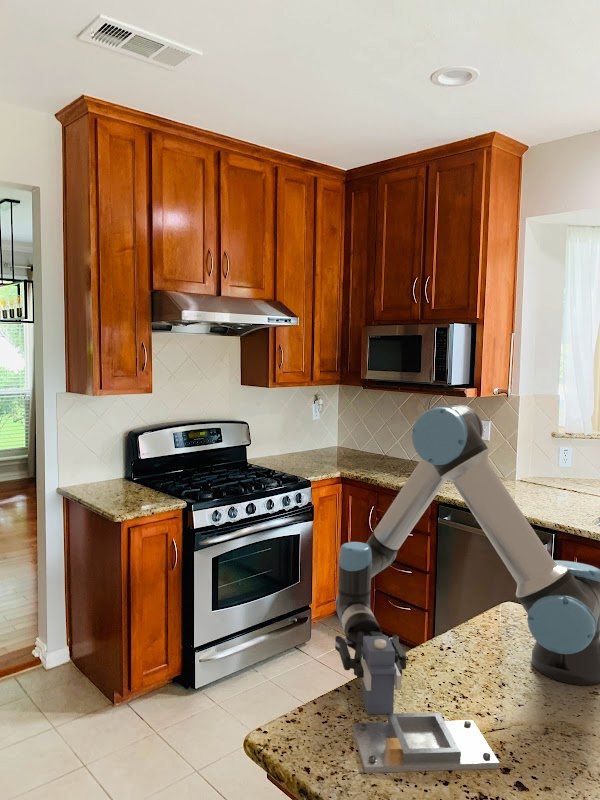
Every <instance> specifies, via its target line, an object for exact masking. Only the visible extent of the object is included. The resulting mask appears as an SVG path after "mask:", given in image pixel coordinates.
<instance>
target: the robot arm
mask: <svg viewBox="0 0 600 800" xmlns="http://www.w3.org/2000/svg"><path fill="white" fill-rule="evenodd" d="M483 425H484V424H483V423H482V420H481V417H480V416H479V415H478V413H477V412H476V411H475V410H474V409H472V408H471V407H469V406H467V405H463V404H460V403H459V404H458V403H453V404H447V405H437V406H433V407H432V408H430V409H428V410H425V411H424V412H423V413H422V414H420V415H419V416H418V418H417V419H416V421H415V423H414V425H413V428H412V431H411V440H412V446H413V449H414V450H415V452H416V453H417V455H418V456H419V457H420V461H419V462H418V463H417V465H416V466H415V468H414V470H413V471H412V473H410V475H409V477H408V479H407V480H406V482H405V483H404V485H403V486H402V488H401V489H400V491H399V492H398V494H397V495H396V497H395V498H394V500H393V501H392V503H391V504H390V506H389V507H388V509H387V510H386V512H385V514H384V515H383V517H382V518H381V520H380V521H379V523H378V524H377V525H376V527H375V528H374V530H373V532H372V533H371V535H370V536H369V538H368V540H366V542H360V541H350V542H345V543H343V544H341V546H340V548H339V555H338V556H339V557H338V561H337V562H338V591H337V596H336V598H335V611H336V614H337V617H338V619H339V621H340V624H341V626H342V630H343V632H344V635H345V637H344V638H343V637H342V636H340V635H337V636H335V638H334V639H335V645H334V648H335V651H337V652H338V654H339V656H340V660H341V663H342V666H343V669H344V671H350V670H351V669H352V670H353V675H354V676H356V677H357V678H358V679H361V680H362V679H363V682H364V684H365V687H366V690H367V691H371V674H370V672H369V669H368V667H367V664H366V661H365V659H363V654H362V651H361V648H362V647H363V636H386V635H385V634H384V633H382V630H381V627H380V625H379V622H378V621H377V619H376V617H375V615H374V613H373V611H372V609H371V591H372V590H371V587H372V585H371V583H372V578H374V576H375V577H376V575H377V574H379V573H380V572H382V571H383V570H385V569H386V568H389V567H390V566H391V565H392V563H393V562H394V561H395V559H396V558H397V555H398V551H399V550H400V548H401V547H402V545H403V544H404V542H405V541H406V539H407V537H408V536H409V535H410V533H412V531H413V529H414V527H416V525H417V523H418V522H419V521H420V519H421V517H422V516H423V515H424V513H425V512H426V510H427V509H428V507H430V504H431V503H432V502H433V500H434V499H435V497H436V496H437V495H438V493H439V492H440V490H441V488H442V487H443V486H444V484H445V483H446V482H447V481H450V482H451V483H452V484H453V485H454V487H455V488H456V490H457V492H458V493H459V495H460V497H461V498H462V499H463V501H464V503H465V504H466V506H467V507H468V509H469V510H470V512H471V513H472V515H473V516H474V518H475V520H476V522H477V523H478V525H479V526H480V528H481V530H482V531H483V533H485V536H486V537H487V538H488V540H489V541H490V543H491V545H492V546H493V549H494V550H495V551H496V553H497V554H498V556H499V557H500V560H502V562H503V563H504V565H505V566H506V569H507V570H508V571H509V572H510V575H511V576H512V578H513V579H514V580H515V583H516V592H515V597H516V598H517V599H518V601H519V602H520V605H521V606H522V608H523V609H524V610H525V612H526V614H527V619H526V621H527V624H528V628H529V632H530V634H531V636H532V637H533V638H534V640H535V643H534V645H533V648H532V651H531V665H532V666H533V667H534V668H535V670H537V671H538V672H539V673H540V674H542V675H544V676H546V677H548V678H550V679H552V680H555V681H558V682H561V683H565V684H570V685H577V686H593V685H600V568H598V567H595V566H594V565H591V564H586V563H582V562H576V561H569V560H558V559H557V560H554V559H553V557H552V555H551V554H550V552H549V551H548V549H547V548H546V546H545V545H544V543H543V542H542V541H541V539H540V538H539V535H537V533H536V531H535V530H534V528H533V527H532V525H531V524H530V523H529V521H528V519H527V518H526V516H525V514H523V512H522V511H521V509H520V506H518V504H517V503H516V502H515V500H514V498H513V496H512V495H511V494H510V492H509V491H508V489H507V488H506V486H505V484H504V483H503V482H502V480H501V479H500V477H499V476H498V474H497V472H496V471H495V470H494V468H493V466H492V465H491V464H490V462H489V459H488V457H489V453H490V449H489V447H488V446H487V445H486V443H485V441H484V440H483V434H484V428H483V427H484V426H483ZM388 638H389V640H390V642H391V644H392V646H393V648H394V650H395V667H396V674H394V688H395V689H396V691H401V690H402V677H403V670H407V654H406V653H405V651H404V649H403V647H402V646H401V644H400V642H399V638H400V637H399V635H396V634H395V635H393V636H392V637H388ZM348 647H349V648H351V649H352V650H354V657H353V658H352V657H351V654H350V650H349V648H348Z"/></svg>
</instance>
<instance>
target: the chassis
mask: <svg viewBox="0 0 600 800" xmlns="http://www.w3.org/2000/svg"><path fill="white" fill-rule="evenodd" d="M351 728H352V733H353V736H354V740H355V742H356V743H355V744H356V747H357V751H358V754H359V757H360V758H359V759H360V760H361V764H362V765H361V766H362V767H363V768H362V769H363V771H364V774H371V773H372V774H373V773H379V774H380V773H403V772H404V773H405V772H432V771H433V772H435V771H438V772H439V771H466V770H471V771H472V770H494V769H495V770H496V769H497V770H498V769H500V761H499V760H498V758H497V757H496V755H495V754H494V752H493V751H492V748H491V747H490V745H489V743H488V742H487V741H486V739H485V738H484V736H483V734H482V732H481V731H480V729H479V728H478V726H477V725H476V723H475V721H474V720H473V719H471V720H470V719H466V720H465V719H464V720H462V719H461V720H460V719H459V720H445V719H444V718H443V716H442V714H441V712H440V711H438V712H436V711H434V712H402V713H401V712H399V713H397V712H396V713H394V712H393V713H391V714H387V722H361V723H360V722H356V723H354V722H353V723H352V727H351Z"/></svg>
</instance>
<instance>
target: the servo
mask: <svg viewBox="0 0 600 800" xmlns="http://www.w3.org/2000/svg"><path fill="white" fill-rule="evenodd" d="M389 638H390V637H389V636H388V635H385V636H363V647H362V648H361V651H362V654H363V656H362V659H365V661H366V664H367V667H368V669H369V672H370V674H371V691H367V690H366V687H365V684H364V682H363V679H362V678H361V698H362V701H363V705H364V708H365V711H366V713H367V715H388V714H391V713H394V701H395V700H394V699H395V698H394V695H395V685H394V674H396V667H395V650H394V648H393V646H392V644H391V642H390V640H389Z"/></svg>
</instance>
